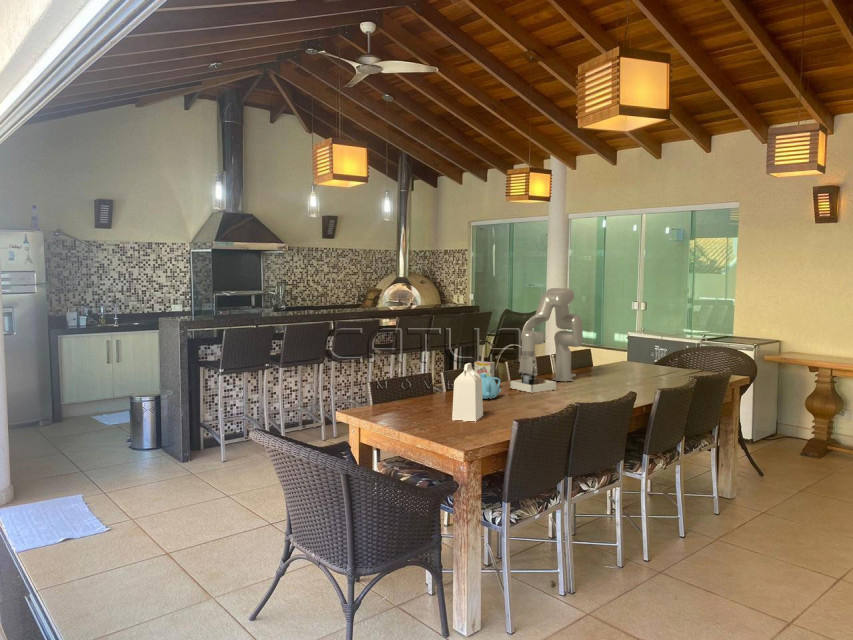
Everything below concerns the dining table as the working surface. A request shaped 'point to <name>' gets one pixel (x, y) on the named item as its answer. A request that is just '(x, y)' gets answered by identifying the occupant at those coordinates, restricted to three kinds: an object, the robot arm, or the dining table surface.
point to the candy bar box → (484, 368)
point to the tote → (533, 386)
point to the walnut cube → (539, 381)
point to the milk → (467, 396)
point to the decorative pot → (489, 386)
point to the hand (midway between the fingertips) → (527, 384)
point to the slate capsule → (526, 379)
